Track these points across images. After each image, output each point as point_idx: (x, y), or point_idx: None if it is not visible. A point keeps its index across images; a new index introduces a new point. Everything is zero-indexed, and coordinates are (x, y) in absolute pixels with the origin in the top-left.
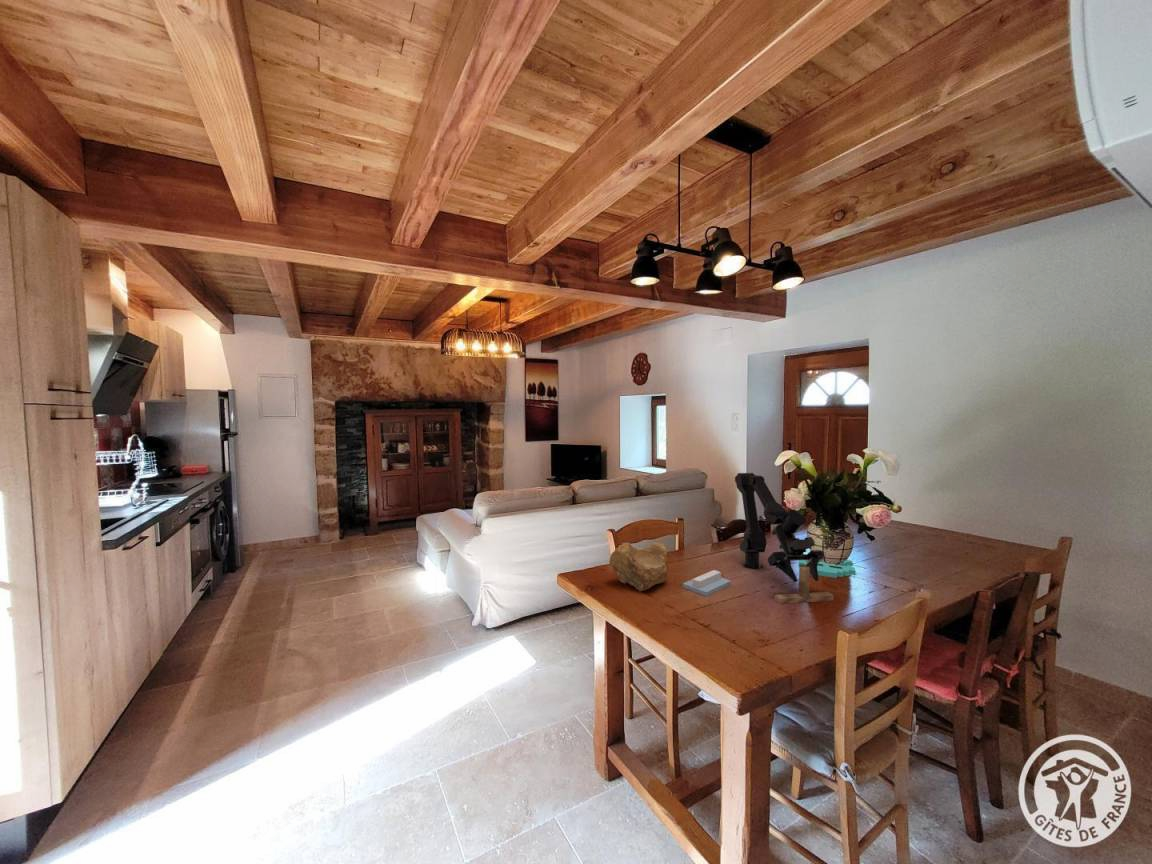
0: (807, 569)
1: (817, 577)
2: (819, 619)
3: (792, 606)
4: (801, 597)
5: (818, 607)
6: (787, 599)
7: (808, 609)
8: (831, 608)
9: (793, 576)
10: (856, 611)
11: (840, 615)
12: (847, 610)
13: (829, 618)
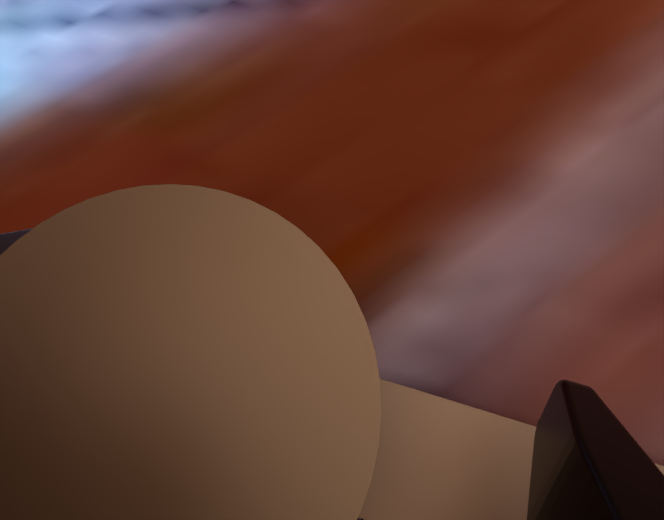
0: (240, 213)
1: (17, 235)
2: (576, 35)
3: (613, 359)
4: (406, 388)
5: (333, 215)
6: None
7: (488, 225)
8: (225, 146)
9: (655, 479)
10: (73, 19)
11: (296, 19)
12: (126, 61)
13: (458, 16)
